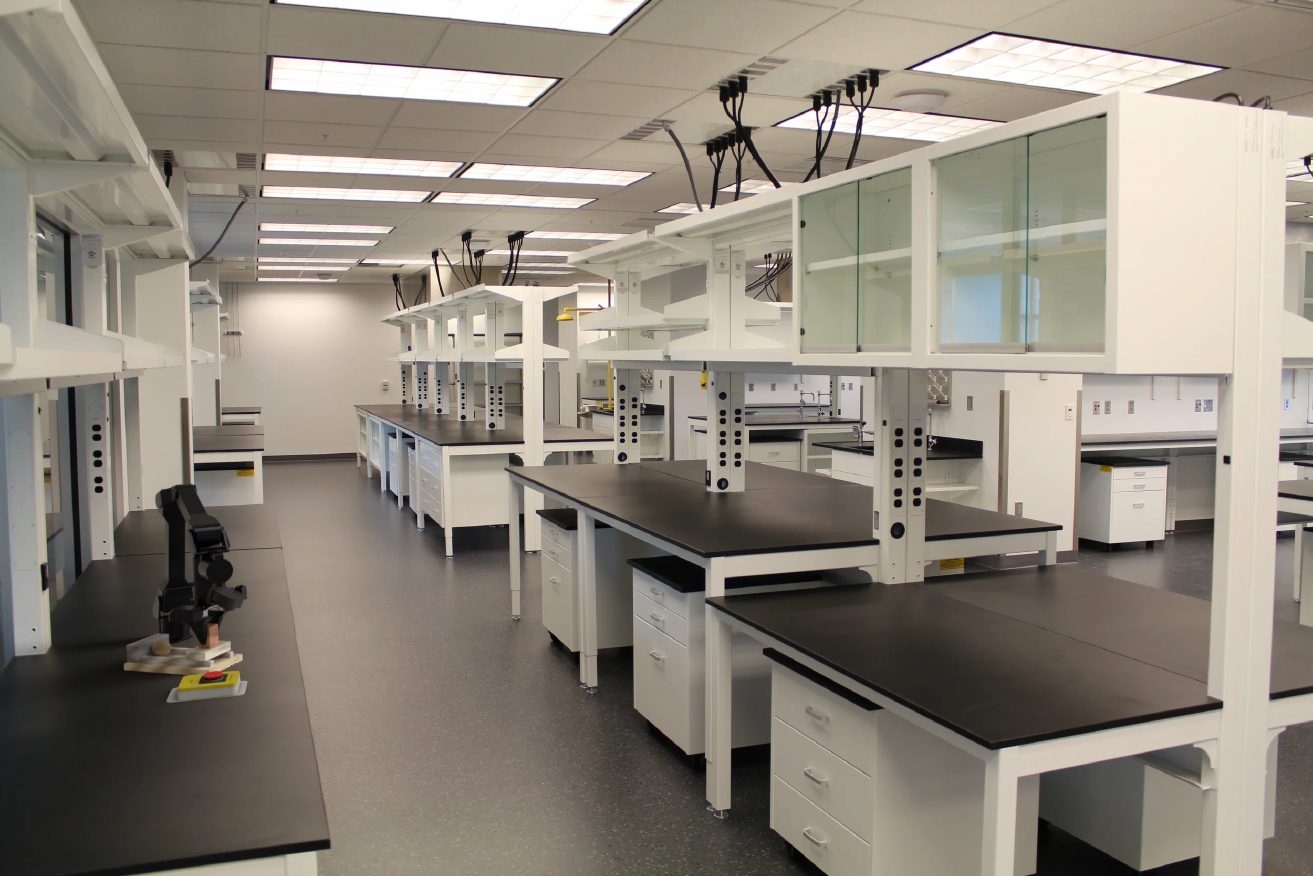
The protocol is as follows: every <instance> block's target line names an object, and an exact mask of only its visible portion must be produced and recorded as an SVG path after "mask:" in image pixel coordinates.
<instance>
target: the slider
mask: <svg viewBox="0 0 1313 876" xmlns="http://www.w3.org/2000/svg"><path fill="white" fill-rule="evenodd" d="M197 640H198V639H197ZM227 651H232V647H231V641H229V640H219V631H218V624H212V623H208V626H207V641H206V644H205V645H201V644H200V642H199V640H198V644H197V646H195V647H193V648H192V649H190V650H188V651H186V660H194V661H207V660H209V659H212V658H214V657H216V656H218V655H220V654H222V653H225V652H227Z"/></svg>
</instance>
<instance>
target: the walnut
mask: <svg viewBox="0 0 1313 876" xmlns="http://www.w3.org/2000/svg"><path fill="white" fill-rule="evenodd" d="M170 643H171V642H167V641H165V640H160V641H157V642H156V643H155V644H154V645H153V646H152V653H153V655H154V656H160V657H165V656H167V655H168V654H169V653H170V651H171V647H172V645H171V644H170Z"/></svg>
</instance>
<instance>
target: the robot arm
mask: <svg viewBox="0 0 1313 876" xmlns="http://www.w3.org/2000/svg"><path fill="white" fill-rule="evenodd" d="M154 497H155V498H154V499H155V500H154V501H155V502H154V503H155V507H156V508H157V512H158V514H159V516H161V518H162V519H163V521H164V525H165V526H164V532H165V533H164V538H165V539H164V550H165V552H164V556H165V557H164V562H165V563H164V578H163V579H162V581H161V582H160V584H159V585H158V587H157V595H156V596H155V599H154V602H153V605H152V615H153V618H155V619H157V620H158V633H159V634H169V643H175V642H176V643H179V642H181V640H182V641H184V640H186V638H187V639H189V638H191V637H193V636H194V635H195V637H196V639H197V640H199V642H200V644H201V645H205V644H206V641H207V626H208V623H212V624H218V632H220V629H221V628H220V627H221V625H222V622H223V619H224V617H225V616H226V615H227V614H228V613H229V612H232V611H235V610H236V609H240V608H242V605H243V603H244V601H245V600H247V599H248V596H247V595H248V592H247V591H248V590H247V586H246V585H244V584H238V585H236V586H235V587H233V586H231V587H228V586H227V584H226V583H227V582H228V581H229V580H231V578H232V577H233V574H234V566H233V564H232V563H231V561H229V560H228V559H226V558H225V556H224V553H230V547H231V544H230V540H229V537H228V534H227V531H226V530H225V526H223V525H222V524H221V522H220V521H219V519H217V517H214V516H212V515H209V514H208V513H207V510H206V508H205V507H204V504H203V502H202V501H201V498H200V497H199V494H198V490H197V486H196V484H193V483H181V484H175V485H172V486H171V487H168V488H161V489H160V490H159V491H158V492H157V493H156V494H155V496H154ZM186 524H187V528H186ZM186 545H187V548H188V550H189V553H190V555H191V556H192V558H191V560H192V567H191V568H192V580H191V581H189V582H188V580H187V579H186ZM191 630H192V632H193V633H191Z"/></svg>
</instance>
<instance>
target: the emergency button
mask: <svg viewBox="0 0 1313 876" xmlns="http://www.w3.org/2000/svg"><path fill="white" fill-rule="evenodd" d="M240 675H241V674H240V671H239V670H233V671H232V670H231V671H212V672H207V673H205V674H198V675H184V676H183V677H182V678H181V681H180V682H179V685H178V687H174V688H172V689H171V690H170V693H169V695H168V697H167V699H166V700H165V701H166V703H168V704H169V703H170V704H171V703H180V702H189V701H199V700H209V699H218V698H227V697H229V698H230V697H237V696H238V697H239V696H243V695H244V694H245V693H246V689H247V685H248V681H247V680H241V676H240Z"/></svg>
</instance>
